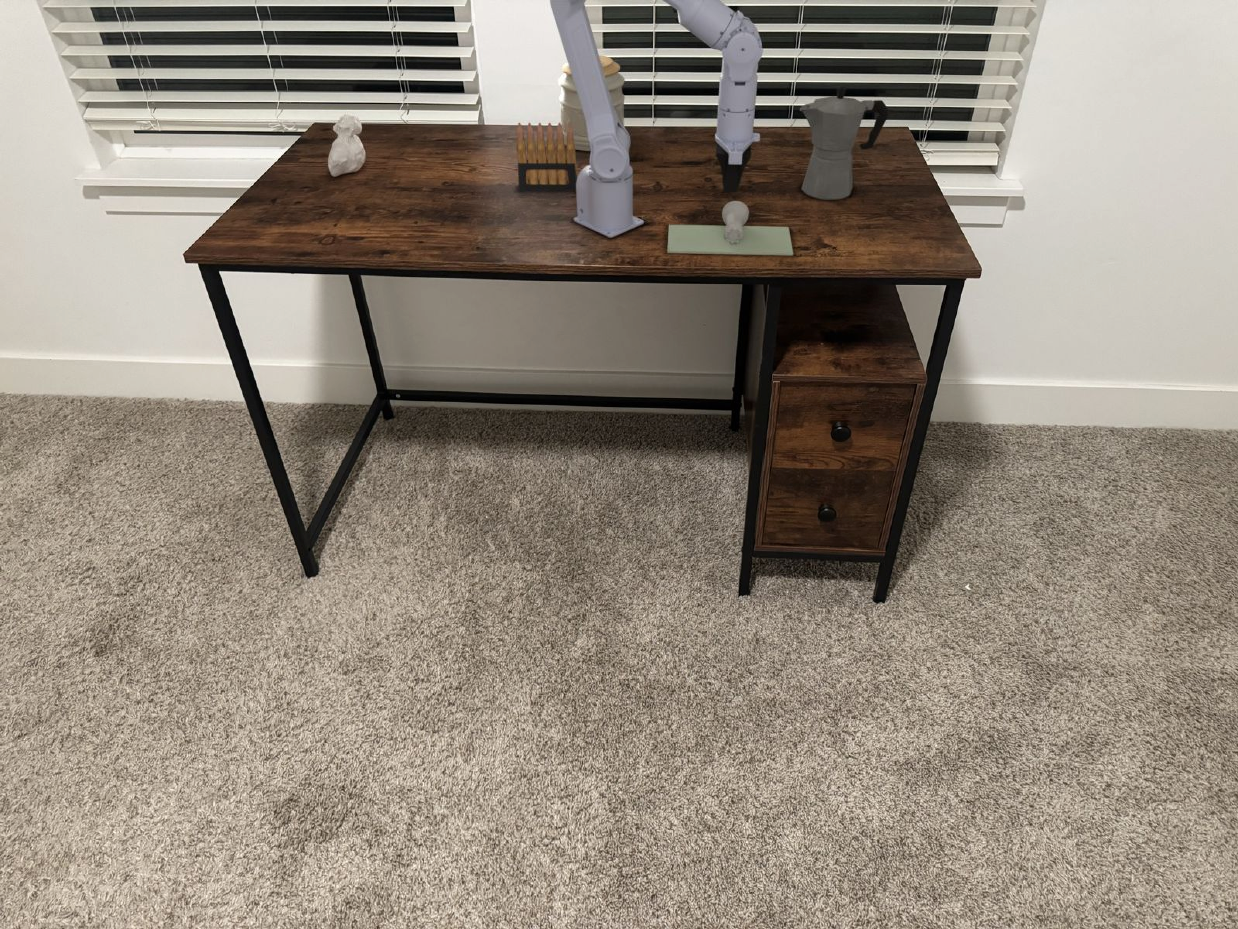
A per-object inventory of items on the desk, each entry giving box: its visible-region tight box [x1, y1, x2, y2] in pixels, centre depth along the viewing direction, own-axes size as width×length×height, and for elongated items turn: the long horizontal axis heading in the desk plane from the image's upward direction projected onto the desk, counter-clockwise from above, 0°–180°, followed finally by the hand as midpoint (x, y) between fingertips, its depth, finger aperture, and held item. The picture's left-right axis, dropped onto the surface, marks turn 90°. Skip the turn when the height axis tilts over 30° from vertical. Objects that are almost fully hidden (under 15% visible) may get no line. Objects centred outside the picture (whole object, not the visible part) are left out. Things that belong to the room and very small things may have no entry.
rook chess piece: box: [721, 200, 750, 244], centre depth 145 cm, size 4×4×8 cm
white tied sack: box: [327, 113, 366, 178], centre depth 167 cm, size 12×8×11 cm
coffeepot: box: [799, 85, 890, 201], centre depth 155 cm, size 15×9×18 cm, turn 92°
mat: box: [666, 224, 794, 256], centre depth 145 cm, size 20×10×1 cm, turn 86°
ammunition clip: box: [516, 122, 578, 192], centre depth 159 cm, size 11×2×12 cm, turn 88°
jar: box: [557, 54, 626, 152], centre depth 175 cm, size 13×13×18 cm
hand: (730, 190), depth 146 cm, fingers closed
